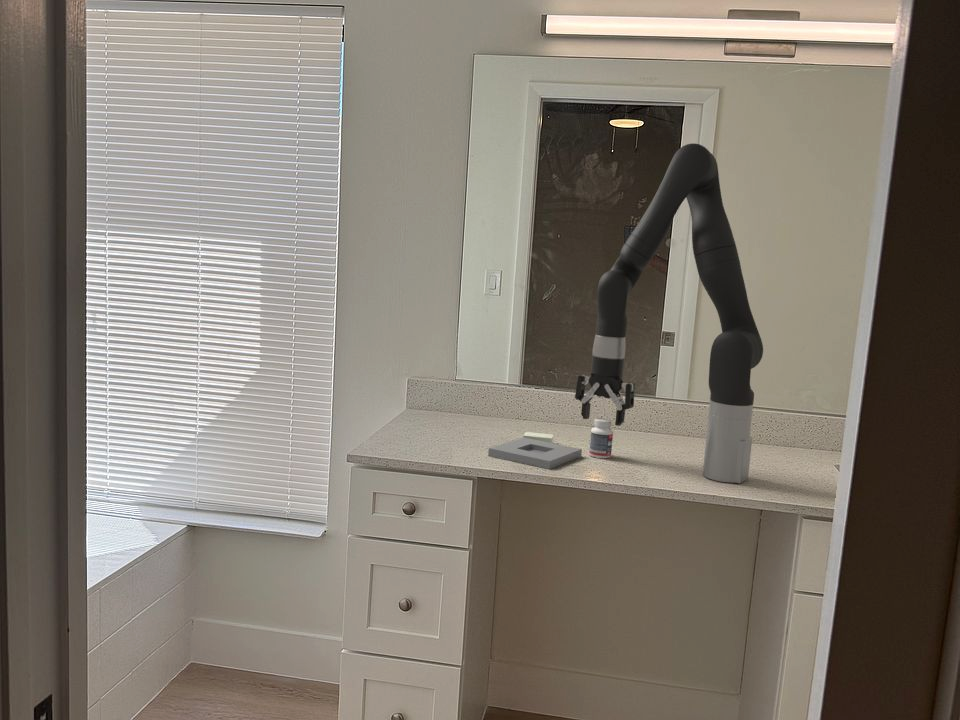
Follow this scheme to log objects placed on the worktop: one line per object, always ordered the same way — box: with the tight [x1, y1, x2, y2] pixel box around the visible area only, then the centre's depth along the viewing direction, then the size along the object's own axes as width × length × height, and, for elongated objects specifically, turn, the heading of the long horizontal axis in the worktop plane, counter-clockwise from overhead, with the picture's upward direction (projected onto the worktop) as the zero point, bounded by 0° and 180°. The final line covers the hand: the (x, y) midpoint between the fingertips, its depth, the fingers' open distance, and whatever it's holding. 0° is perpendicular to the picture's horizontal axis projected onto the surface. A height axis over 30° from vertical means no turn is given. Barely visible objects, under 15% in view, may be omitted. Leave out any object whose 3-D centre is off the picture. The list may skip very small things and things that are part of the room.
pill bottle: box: [588, 417, 614, 459], centre depth 204 cm, size 5×5×9 cm
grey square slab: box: [487, 436, 583, 470], centre depth 201 cm, size 16×16×2 cm
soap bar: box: [523, 431, 554, 443], centre depth 214 cm, size 7×4×2 cm, turn 80°
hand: (601, 421), depth 204 cm, fingers open, 8 cm apart
